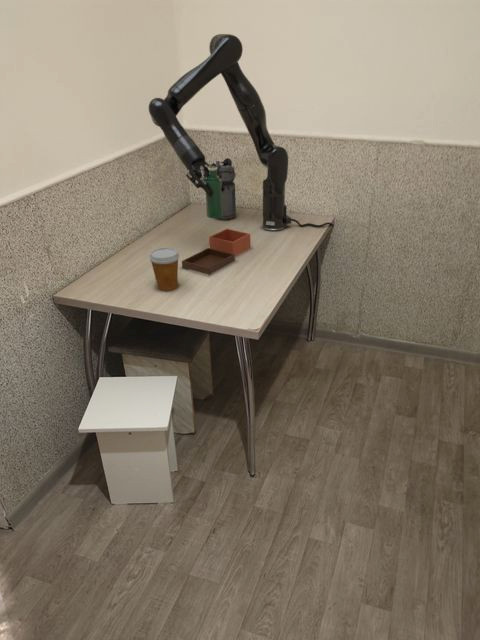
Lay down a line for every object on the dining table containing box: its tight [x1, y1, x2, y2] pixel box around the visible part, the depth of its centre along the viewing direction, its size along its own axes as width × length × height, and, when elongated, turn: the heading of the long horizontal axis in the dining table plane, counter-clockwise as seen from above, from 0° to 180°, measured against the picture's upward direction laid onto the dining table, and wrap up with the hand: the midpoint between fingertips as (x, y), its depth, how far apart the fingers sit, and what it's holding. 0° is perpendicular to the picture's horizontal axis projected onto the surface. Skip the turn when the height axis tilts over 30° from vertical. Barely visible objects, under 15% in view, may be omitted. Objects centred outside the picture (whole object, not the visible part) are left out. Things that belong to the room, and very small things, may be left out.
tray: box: [181, 247, 236, 277], centre depth 183 cm, size 15×12×3 cm
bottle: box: [205, 167, 223, 219], centre depth 176 cm, size 6×6×16 cm
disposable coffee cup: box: [148, 247, 180, 292], centre depth 165 cm, size 10×10×12 cm
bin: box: [208, 228, 251, 257], centre depth 195 cm, size 11×11×6 cm
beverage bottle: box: [215, 157, 237, 221], centre depth 224 cm, size 10×13×25 cm
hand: (217, 193), depth 175 cm, fingers closed on bottle, 5 cm apart
